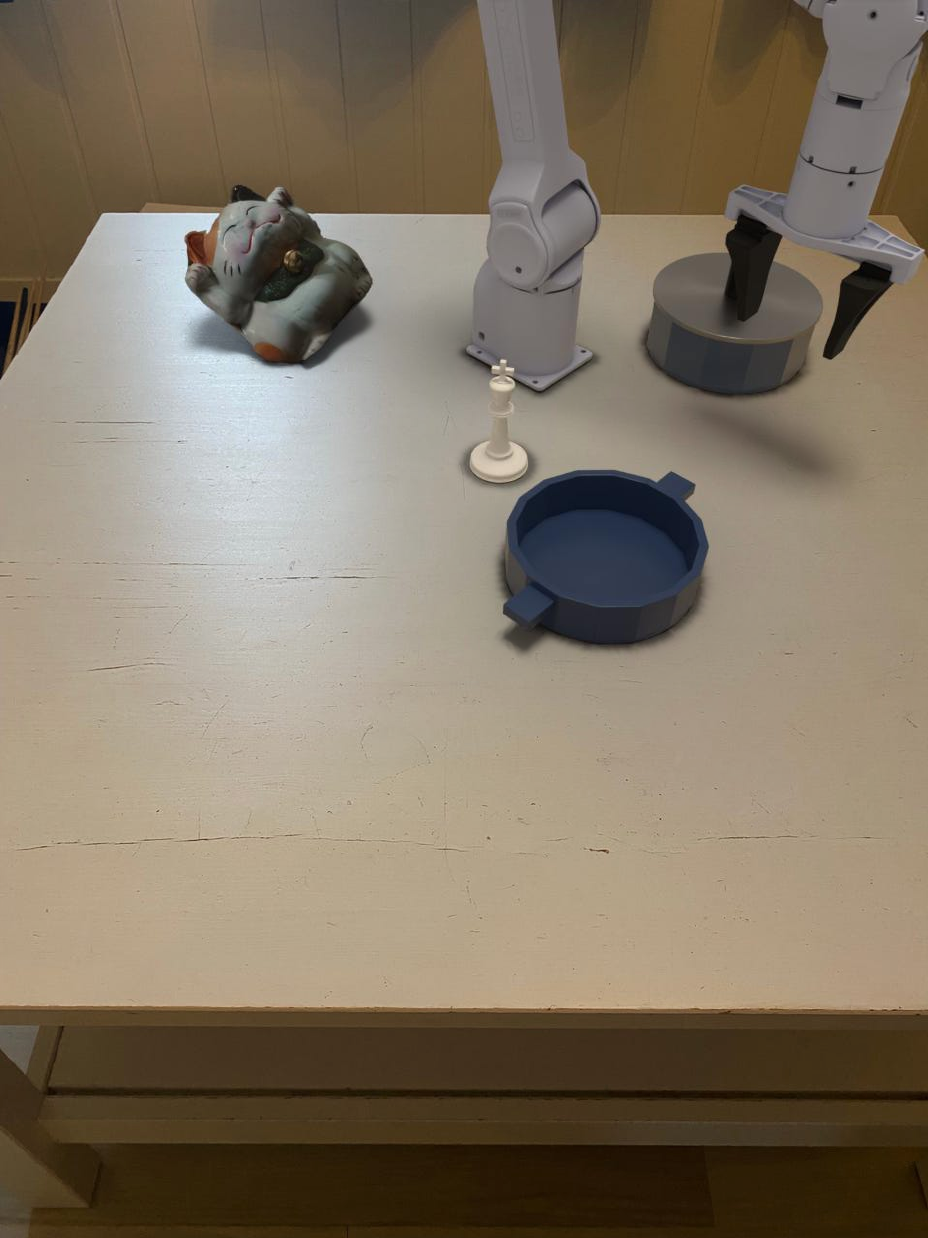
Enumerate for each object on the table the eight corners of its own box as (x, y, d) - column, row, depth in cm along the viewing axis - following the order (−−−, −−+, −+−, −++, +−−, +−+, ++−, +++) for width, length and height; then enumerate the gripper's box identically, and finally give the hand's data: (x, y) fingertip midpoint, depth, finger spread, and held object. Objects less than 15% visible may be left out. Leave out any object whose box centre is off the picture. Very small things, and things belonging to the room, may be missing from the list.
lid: (630, 326, 85) (637, 278, 82) (676, 250, 94) (685, 204, 91) (802, 366, 81) (817, 318, 78) (833, 283, 90) (848, 237, 87)
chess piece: (522, 486, 78) (530, 383, 70) (464, 478, 78) (465, 375, 71) (532, 449, 81) (539, 347, 73) (475, 442, 81) (477, 339, 74)
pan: (440, 591, 70) (440, 553, 67) (605, 467, 79) (611, 430, 76) (594, 700, 63) (600, 663, 60) (753, 551, 73) (766, 513, 70)
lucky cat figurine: (286, 383, 87) (189, 250, 78) (235, 373, 96) (143, 252, 88) (398, 283, 90) (316, 145, 82) (338, 282, 100) (259, 158, 91)
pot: (617, 350, 91) (624, 299, 87) (702, 293, 98) (713, 244, 94) (747, 413, 84) (761, 361, 80) (828, 348, 92) (846, 297, 88)
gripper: (971, 170, 63) (898, 349, 73) (779, 109, 69) (737, 282, 79) (922, 205, 59) (854, 388, 69) (726, 138, 66) (689, 314, 76)
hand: (788, 334), depth 74 cm, fingers open, 7 cm apart
